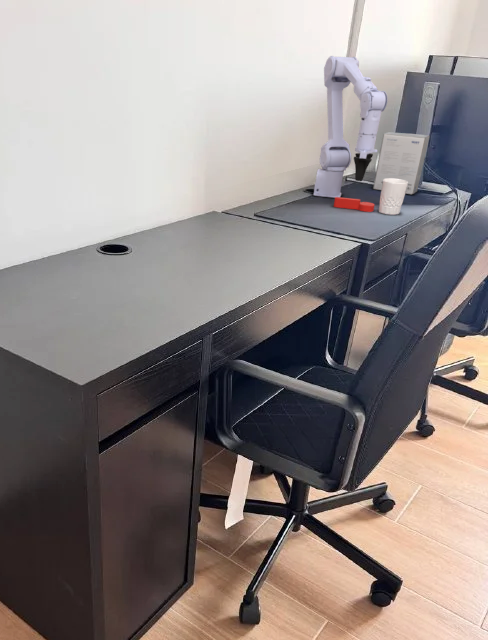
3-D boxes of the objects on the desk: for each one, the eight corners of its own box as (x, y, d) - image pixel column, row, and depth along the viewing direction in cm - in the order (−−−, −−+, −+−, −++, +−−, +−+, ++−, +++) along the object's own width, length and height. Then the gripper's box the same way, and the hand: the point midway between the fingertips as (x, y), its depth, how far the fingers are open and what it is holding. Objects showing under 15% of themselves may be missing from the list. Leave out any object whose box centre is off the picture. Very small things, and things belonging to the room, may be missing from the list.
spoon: (373, 209, 195) (375, 199, 193) (373, 212, 191) (375, 203, 189) (334, 204, 198) (335, 195, 196) (332, 208, 194) (334, 198, 192)
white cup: (388, 216, 187) (395, 184, 182) (371, 210, 193) (377, 179, 188) (406, 214, 190) (413, 182, 185) (389, 208, 196) (395, 177, 191)
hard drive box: (417, 192, 222) (431, 135, 211) (412, 195, 216) (426, 137, 206) (377, 186, 229) (388, 131, 218) (371, 189, 223) (383, 132, 213)
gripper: (380, 137, 177) (370, 183, 184) (381, 132, 189) (372, 175, 196) (356, 135, 179) (348, 181, 186) (359, 130, 191) (351, 173, 198)
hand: (359, 178), depth 191 cm, fingers open, 7 cm apart
